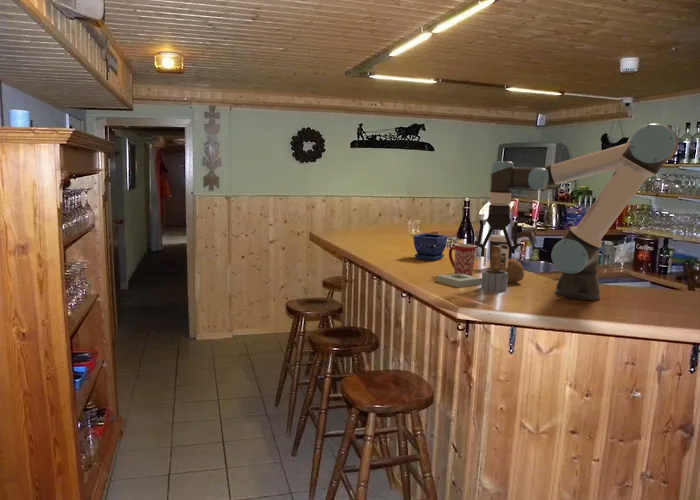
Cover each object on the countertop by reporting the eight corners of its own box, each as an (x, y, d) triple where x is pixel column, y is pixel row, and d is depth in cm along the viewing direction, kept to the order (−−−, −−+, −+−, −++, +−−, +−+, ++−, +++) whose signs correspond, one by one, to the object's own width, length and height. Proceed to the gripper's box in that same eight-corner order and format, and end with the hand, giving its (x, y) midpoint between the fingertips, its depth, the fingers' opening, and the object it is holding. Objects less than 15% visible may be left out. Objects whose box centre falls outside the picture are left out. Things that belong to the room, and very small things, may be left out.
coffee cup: (510, 268, 251) (513, 236, 249) (504, 271, 243) (507, 238, 241) (490, 265, 257) (492, 234, 254) (484, 268, 249) (486, 236, 246)
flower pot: (436, 262, 263) (437, 237, 261) (411, 259, 270) (412, 235, 268) (447, 258, 274) (448, 235, 272) (423, 256, 281) (424, 233, 279)
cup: (511, 291, 201) (512, 273, 200) (494, 294, 196) (496, 275, 195) (492, 287, 208) (493, 269, 207) (476, 289, 203) (477, 270, 202)
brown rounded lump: (498, 280, 222) (500, 256, 220) (521, 282, 220) (523, 257, 219) (500, 284, 213) (502, 259, 212) (524, 286, 211) (526, 261, 210)
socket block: (481, 285, 210) (481, 278, 209) (458, 288, 203) (459, 281, 203) (458, 280, 220) (459, 272, 219) (436, 282, 213) (437, 275, 212)
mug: (479, 277, 226) (481, 245, 224) (464, 280, 221) (466, 247, 219) (456, 272, 236) (458, 242, 234) (441, 274, 231) (443, 243, 229)
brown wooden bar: (500, 289, 202) (503, 246, 199) (494, 290, 200) (497, 247, 197) (493, 287, 204) (496, 245, 202) (487, 288, 202) (489, 246, 200)
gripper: (528, 205, 198) (523, 267, 202) (472, 202, 204) (468, 262, 207) (529, 206, 191) (524, 270, 195) (470, 203, 197) (467, 266, 200)
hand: (495, 266), depth 201 cm, fingers open, 7 cm apart
